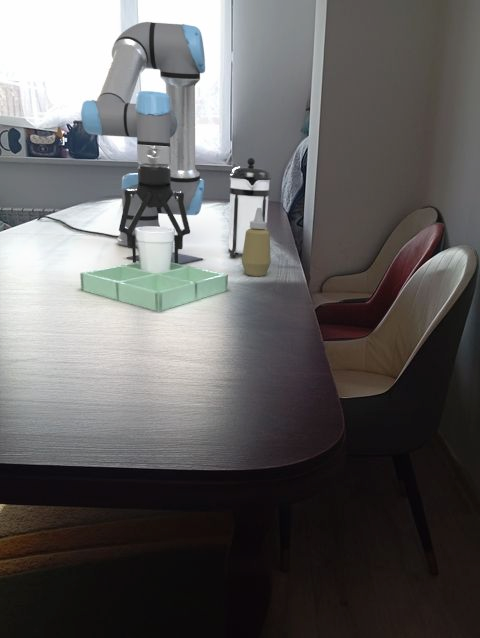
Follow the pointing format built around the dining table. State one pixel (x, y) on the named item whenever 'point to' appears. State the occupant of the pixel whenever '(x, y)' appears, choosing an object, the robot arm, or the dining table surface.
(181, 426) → the dining table surface
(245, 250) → the squeeze bottle
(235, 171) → the coffee press
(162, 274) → the divided sorting tray
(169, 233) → the foam cup
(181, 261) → the mat
